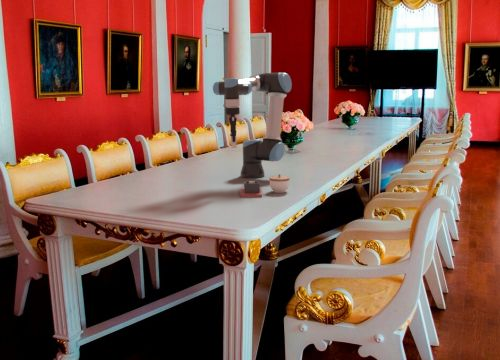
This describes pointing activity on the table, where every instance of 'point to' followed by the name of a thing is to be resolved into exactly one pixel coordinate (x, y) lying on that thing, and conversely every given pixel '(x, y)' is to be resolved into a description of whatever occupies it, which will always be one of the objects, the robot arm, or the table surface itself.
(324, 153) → the table surface
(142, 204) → the table surface
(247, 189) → the hollow frame block
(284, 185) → the lidded jar
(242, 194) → the plate
